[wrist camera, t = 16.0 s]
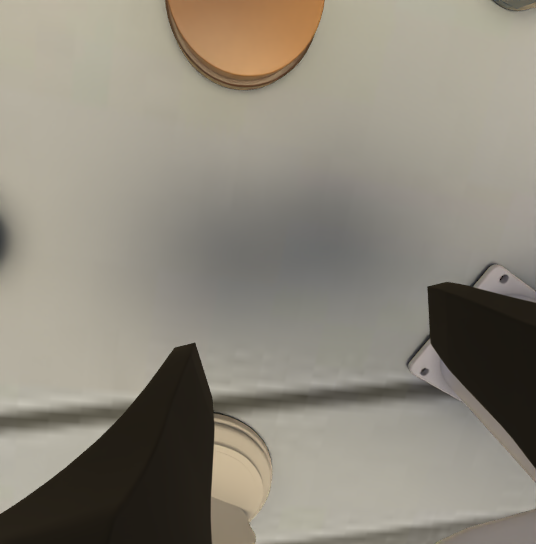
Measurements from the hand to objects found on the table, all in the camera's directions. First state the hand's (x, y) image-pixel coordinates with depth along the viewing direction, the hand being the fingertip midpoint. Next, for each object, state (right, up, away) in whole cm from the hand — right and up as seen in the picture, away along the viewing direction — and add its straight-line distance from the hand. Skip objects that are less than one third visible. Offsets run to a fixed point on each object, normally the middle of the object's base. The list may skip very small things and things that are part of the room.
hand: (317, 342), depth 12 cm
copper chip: (-2, +13, +3) cm, 13 cm away
